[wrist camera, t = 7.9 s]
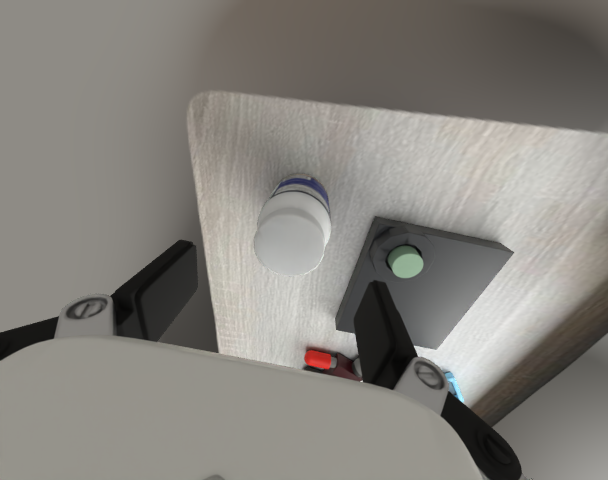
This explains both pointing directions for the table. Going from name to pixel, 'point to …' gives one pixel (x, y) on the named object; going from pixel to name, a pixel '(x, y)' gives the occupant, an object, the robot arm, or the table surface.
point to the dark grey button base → (424, 277)
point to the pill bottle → (293, 226)
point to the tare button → (405, 261)
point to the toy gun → (334, 365)
